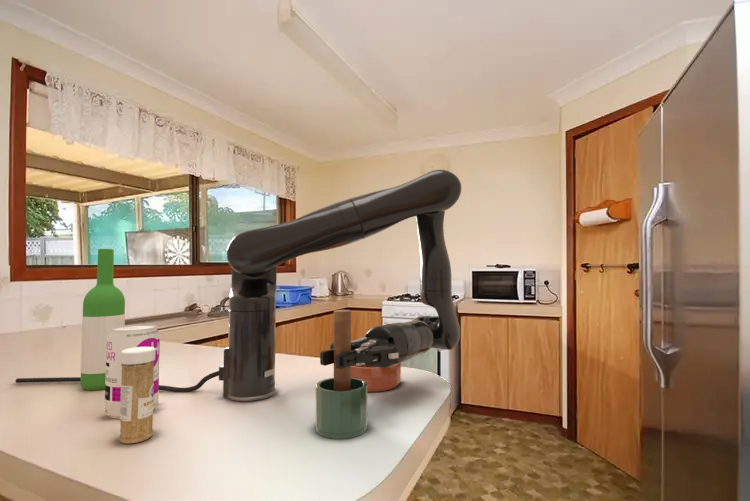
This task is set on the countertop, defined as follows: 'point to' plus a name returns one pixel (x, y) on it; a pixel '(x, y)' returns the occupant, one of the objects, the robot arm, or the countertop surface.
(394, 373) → the bowl
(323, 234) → the robot arm
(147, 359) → the sprinkles bottle
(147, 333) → the supplement can
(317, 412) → the pot
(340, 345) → the brush
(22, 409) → the countertop surface
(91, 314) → the wine bottle
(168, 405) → the countertop surface
